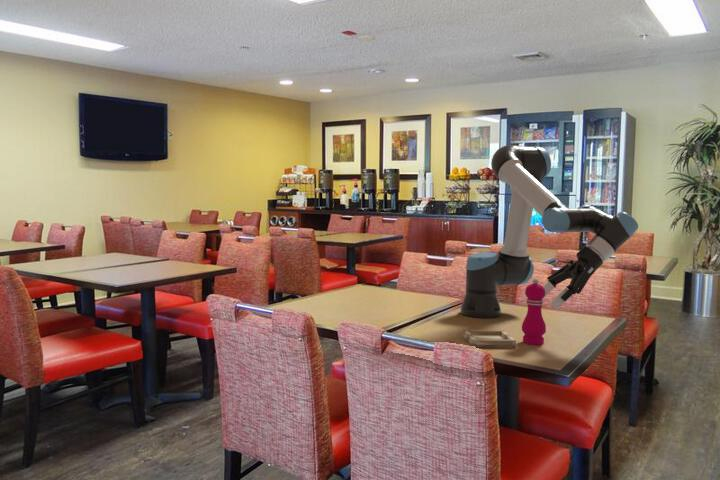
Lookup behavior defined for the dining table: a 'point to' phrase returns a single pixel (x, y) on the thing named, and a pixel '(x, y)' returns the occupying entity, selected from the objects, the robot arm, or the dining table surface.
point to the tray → (489, 339)
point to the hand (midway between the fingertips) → (544, 302)
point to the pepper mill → (534, 315)
